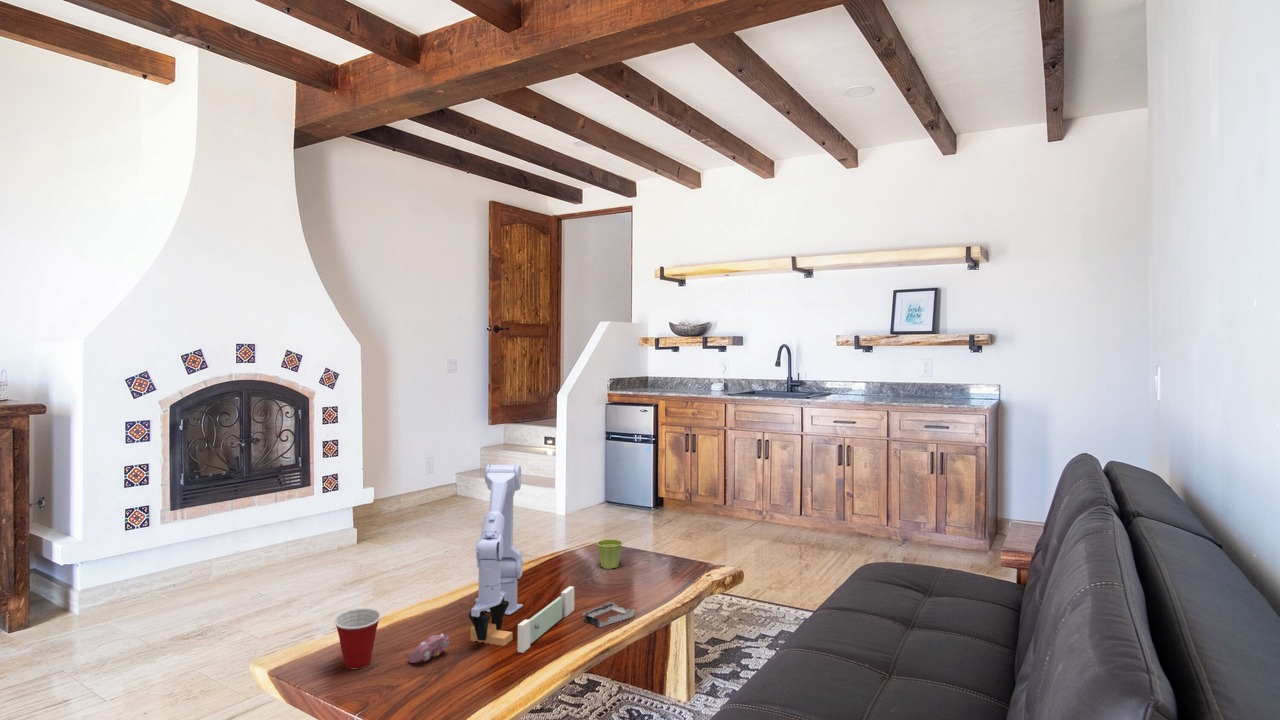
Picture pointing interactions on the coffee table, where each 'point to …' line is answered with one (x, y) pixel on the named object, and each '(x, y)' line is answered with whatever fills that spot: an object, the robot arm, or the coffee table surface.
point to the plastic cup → (357, 635)
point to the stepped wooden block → (493, 635)
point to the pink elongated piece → (429, 648)
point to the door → (546, 618)
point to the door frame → (525, 625)
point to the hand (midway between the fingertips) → (489, 634)
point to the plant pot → (609, 553)
